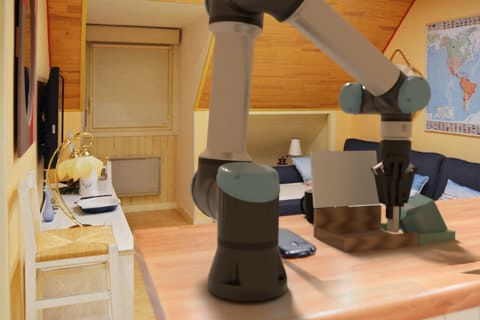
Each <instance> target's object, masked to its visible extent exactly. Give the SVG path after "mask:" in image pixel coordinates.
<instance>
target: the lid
mask: <svg viewBox="0 0 480 320" xmlns="http://www.w3.org/2000/svg"><path fill="white" fill-rule="evenodd" d="M377 157H378V156H377V150H342V151H341V150H339V151H338V150H332V151H331V150H329V151H328V150H326V151H322V150H321V151H318V150H317V151H313V150H312V151H309V159H310V160H309V161H310V175H311V189H312V192H313V207H314V208H324V207H335V208H336V207H340V206H349V207H352V206H368V205H381V203H379V199H378V194H377V188H376V183H375V177H374V174H373V172H372V170H371V167H373V166H374V167H375V166H377V165H378V158H377Z"/></svg>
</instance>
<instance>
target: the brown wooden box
mask: <svg viewBox="0 0 480 320" xmlns="http://www.w3.org/2000/svg"><path fill="white" fill-rule="evenodd" d="M382 205H383V204H382ZM382 205H381V204H373V205H356V206H349V207H335V208H320V209H314V223H313V238H315V239H316V240H318V241H320V242H322V243H325V244H326V245H328V246H331V247H332V248H336V249H338V250H339V251H342V252H345V253H347V254H348V253H355V252H357V253H358V252H366V251H377V250H385V249H395V248H405V247H407V248H408V247H415V246H419V245H418V233H416V232H413V233H403V232H402V233H401V232H400V233H392V234H383V235H380V234H379V235H371V236H370V235H369V236H360V237H349V238H348V237H346V236H344V235H350V234H355V233H356V234H357V233H364V232H365V233H366V232H372V231H379V230H382V229H381V223H382Z"/></svg>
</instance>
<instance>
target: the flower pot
mask: <svg viewBox="0 0 480 320" xmlns="http://www.w3.org/2000/svg"><path fill="white" fill-rule="evenodd" d="M399 225H400V227H401V228H400V229H401V232H402V233H413V232H416V233H428V232H443V231H445V230H448V226H447V225H446V222H445V220H444V218H443V215H442V214H441V212H440V209H439V208H438V205H437V204H436V201H435V199H432V198H430V197H427V196H425V195H423V194H420V193H418V194H416V195H415V196H413V197H412V198H411V199H410V198H409V201H408V203H405V205H404V207H401V217H400V218H399Z"/></svg>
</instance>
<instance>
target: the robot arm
mask: <svg viewBox="0 0 480 320" xmlns="http://www.w3.org/2000/svg"><path fill="white" fill-rule="evenodd" d="M204 9H205V12H206V13H207V15H208V16H209V17H208V25H207V26H208V30H209V31H210V32H211V33H212V36H213V37H214V41H213V42H214V44H213V45H214V46H213V55H212V56H213V58H212V66H211V67H212V72H211V83H210V95H209V97H210V98H209V109H208V119H207V122H208V123H207V134H206V145H205V146H206V147H205V148H204V150H203V151H202V152H201V153H200V154H198V160H197V170H196V172H194V174H193V176H192V178H191V180H190V186H189V187H190V188H189V192H190V197H191V200H192V202H193V204H194V205H195V207H197V209H198V210H199V211H200V212H201V213H202V214H203V215H205V216H207V217H208V218H211V219H213V220H215V221H217V222H216V223H217V224H216V226H217V228H216V229H217V231H216V236H217V237H216V239H217V241H216V242H217V244H216V250H215V254H214V256H213V259H212V263H211V266H210V268H209V273H208V276H207V289H208V291H209V292H210V293H211V294H212V295H214V296H216V297H219V298H222V299H226V300H231V301H237V302H259V301H260V302H261V301H265V300H267V301H268V300H271V299H274V298H275V299H276V298H278V297H280V296H282V295H284V294H285V293H286V292H287V290H288V276H287V272H286V268H285V265H284V262H283V258H282V255H281V252H280V248H279V231H280V229H279V227H280V193H281V185H280V176H279V173H278V171H277V170H276V169H275V168H274V167H271V166H269V165H265V164H261V163H255V162H253V158H252V157H251V156H250V155H249V154H248V152H247V142H248V128H249V127H248V126H249V118H250V117H249V115H250V107H251V106H250V104H251V93H252V92H251V91H252V80H253V78H252V77H253V68H254V57H255V55H254V54H255V43H256V42H255V41H256V39H258V37H259V36H261V35H262V34H263V30H264V19H265V14H267V15H269V16H271V17H272V18H274V19H275V20H276V21H278V23H280V24H289V25H291V27H293V28H294V30H296V31H297V32H299V33H300V34H301V35H302V36H303V37H305V39H307V40H308V41H309V42H310V43H312V44H313V46H315V47H316V48H317V49H319V50H320V51H321V52H322V53H323V54H325V55H326V57H328V58H329V59H330V60H332V62H334V63H335V64H337V65H338V66H339V67H340V68H341V70H343V71H344V72H346V73H347V75H349V76H350V77H351V78H353V79H354V80H355V81H356V82H347V83H345V84H343V86H342V87H341V89H340V91H339V94H338V105H339V108H340V109H341V111H342V112H343V113H344V114H347V115H354V116H355V115H368V116H369V115H379V116H380V127H379V128H380V132H379V136H380V138H382V139H381V140H380V141H379V154H380V158H379V163H377V166H375V167H374V166H373V167H371V170H372V172H373V174H374V177H375V183H376V188H377V194H378V199H379V203H380V204H382V205H384V206H385V215H384V217H385V218H386V219H387V220H386V223H387V229H386V231H387V232H391V233H392V234H397V233H399V228H398V227H399V218H400V217H401V207H404V205H405V203H408V201H409V200H410V196H411V191H412V189H413V183H414V180H415V179H414V178H415V175H416V173H417V172H418V170H419V167H418V166H417V165H415V166H414V165H413V164H412V163H411V159H410V155H411V154H412V143H413V142H412V141H411V140H410V138H412V136H413V135H412V133H413V114H414V113H415V112H416V113H417V112H420V111H423V110H424V109H425V108H427V106H428V105H429V103H430V100H431V99H432V97H431V95H432V90H431V86H430V84H429V82H428V80H426V79H425V78H424V77H423V76H419V75H409V76H408V75H407V74H406V73H404V71H402V70H401V69H400V68H399V67H397V65H396V64H395V63H393V61H392V60H390V59H389V58H388V57H387V56H386V55H385V54H383V53H382V51H380V50H379V49H378V48H377V46H375V45H374V44H373V43H372V42H371V41H370V40H369V39H367V38H366V37H365V36H364V35H363V34H362V33H361V32H359V31H358V30H357V29H356V28H355V27H354V26H353V25H352V24H351V23H350V22H349V21H348V20H347V19H346V18H344V17H343V16H342V15H341V14H340V13H339V12H338V11H337V10H336V9H334V7H333V6H331V5H330V4H329V3H328V2H327V1H326V0H204Z"/></svg>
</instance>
